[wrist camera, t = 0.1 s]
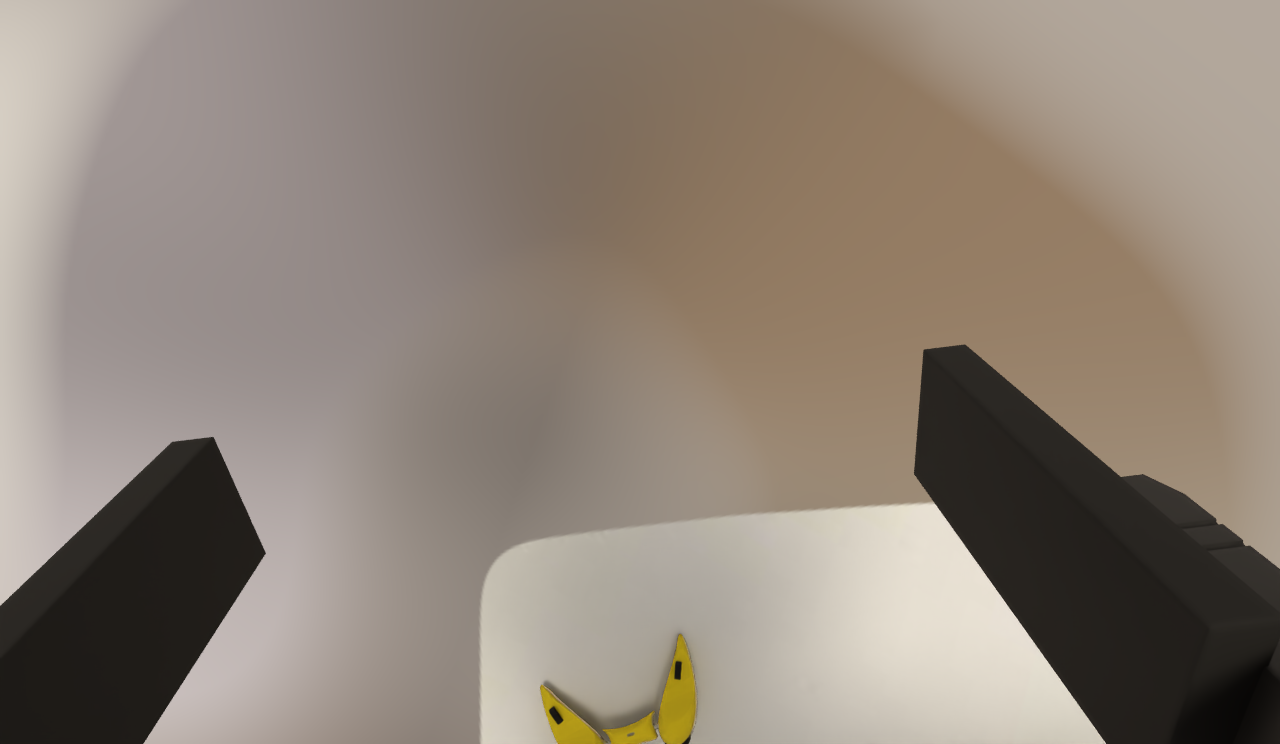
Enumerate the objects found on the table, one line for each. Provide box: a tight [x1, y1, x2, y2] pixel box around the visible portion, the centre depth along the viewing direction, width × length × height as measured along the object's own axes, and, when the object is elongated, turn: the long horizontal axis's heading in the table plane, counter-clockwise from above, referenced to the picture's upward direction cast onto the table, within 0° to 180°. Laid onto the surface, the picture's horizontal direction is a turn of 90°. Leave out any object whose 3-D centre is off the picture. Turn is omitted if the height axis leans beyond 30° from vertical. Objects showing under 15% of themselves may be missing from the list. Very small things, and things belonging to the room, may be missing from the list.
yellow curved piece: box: [540, 634, 697, 744], centre depth 44 cm, size 10×6×4 cm, turn 110°
